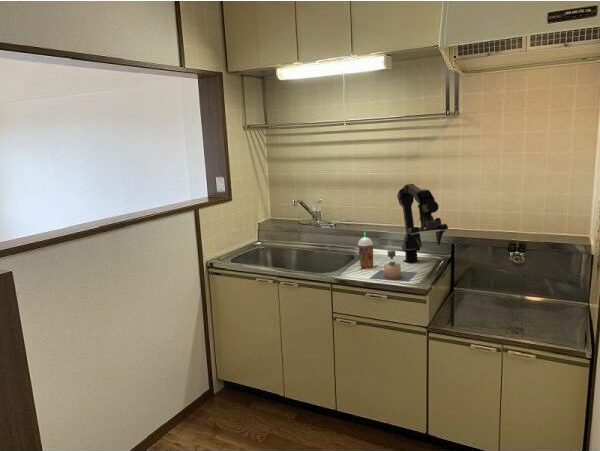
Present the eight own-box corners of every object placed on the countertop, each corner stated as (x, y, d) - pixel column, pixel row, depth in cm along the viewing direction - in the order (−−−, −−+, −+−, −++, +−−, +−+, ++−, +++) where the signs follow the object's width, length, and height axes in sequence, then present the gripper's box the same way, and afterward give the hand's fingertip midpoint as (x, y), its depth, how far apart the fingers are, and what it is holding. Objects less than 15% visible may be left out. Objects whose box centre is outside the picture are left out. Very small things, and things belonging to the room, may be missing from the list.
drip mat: (369, 280, 223) (368, 278, 223) (380, 271, 237) (380, 269, 237) (408, 283, 213) (408, 281, 213) (418, 273, 227) (418, 272, 226)
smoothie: (357, 270, 243) (355, 233, 240) (361, 266, 251) (358, 230, 247) (373, 270, 240) (370, 233, 237) (376, 266, 248) (373, 230, 245)
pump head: (389, 257, 223) (388, 250, 223) (396, 258, 221) (396, 250, 221) (385, 260, 218) (385, 252, 218) (392, 261, 217) (392, 253, 216)
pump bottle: (387, 274, 228) (386, 260, 226) (403, 275, 224) (402, 260, 223) (382, 278, 221) (381, 264, 220) (398, 279, 217) (397, 265, 216)
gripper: (413, 215, 215) (417, 247, 213) (450, 211, 216) (455, 243, 215) (405, 217, 226) (409, 248, 224) (441, 213, 228) (445, 244, 226)
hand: (430, 246), depth 222 cm, fingers open, 9 cm apart
